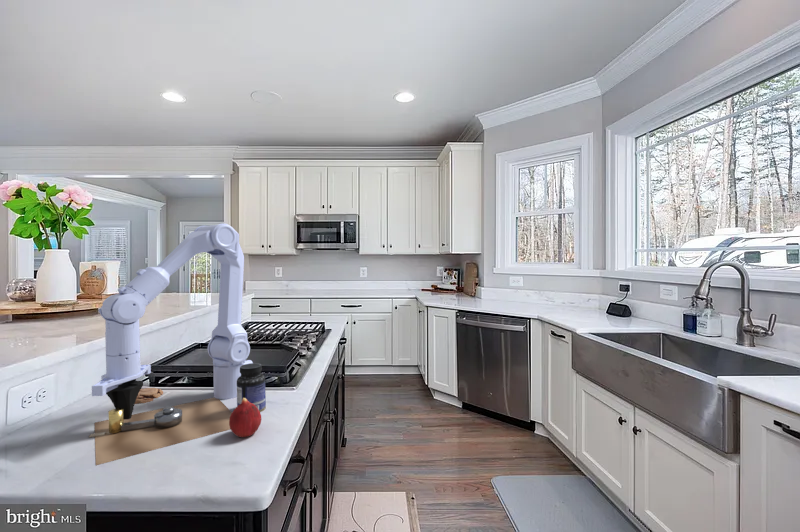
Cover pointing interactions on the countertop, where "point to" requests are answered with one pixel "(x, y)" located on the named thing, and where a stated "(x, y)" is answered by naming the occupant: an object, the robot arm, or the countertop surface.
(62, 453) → the countertop surface
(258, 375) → the pill bottle
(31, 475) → the countertop surface
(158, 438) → the brown cutting board
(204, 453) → the countertop surface
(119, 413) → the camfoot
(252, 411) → the red rounded piece
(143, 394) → the cookie
